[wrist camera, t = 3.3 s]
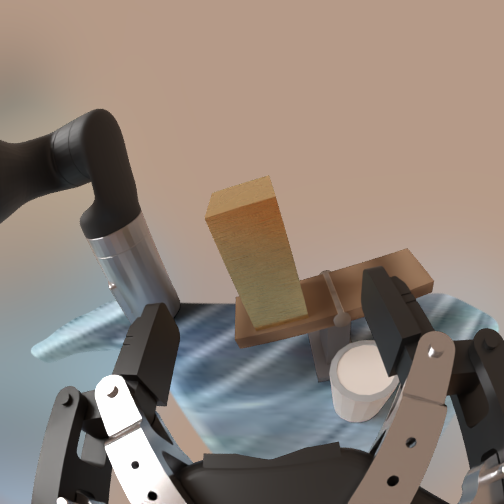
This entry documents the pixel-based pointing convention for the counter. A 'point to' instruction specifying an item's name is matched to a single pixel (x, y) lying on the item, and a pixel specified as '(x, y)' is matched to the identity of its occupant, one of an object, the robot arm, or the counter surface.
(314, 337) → the beam stand
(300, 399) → the counter surface
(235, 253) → the block
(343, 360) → the beige short cylinder
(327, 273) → the beam
